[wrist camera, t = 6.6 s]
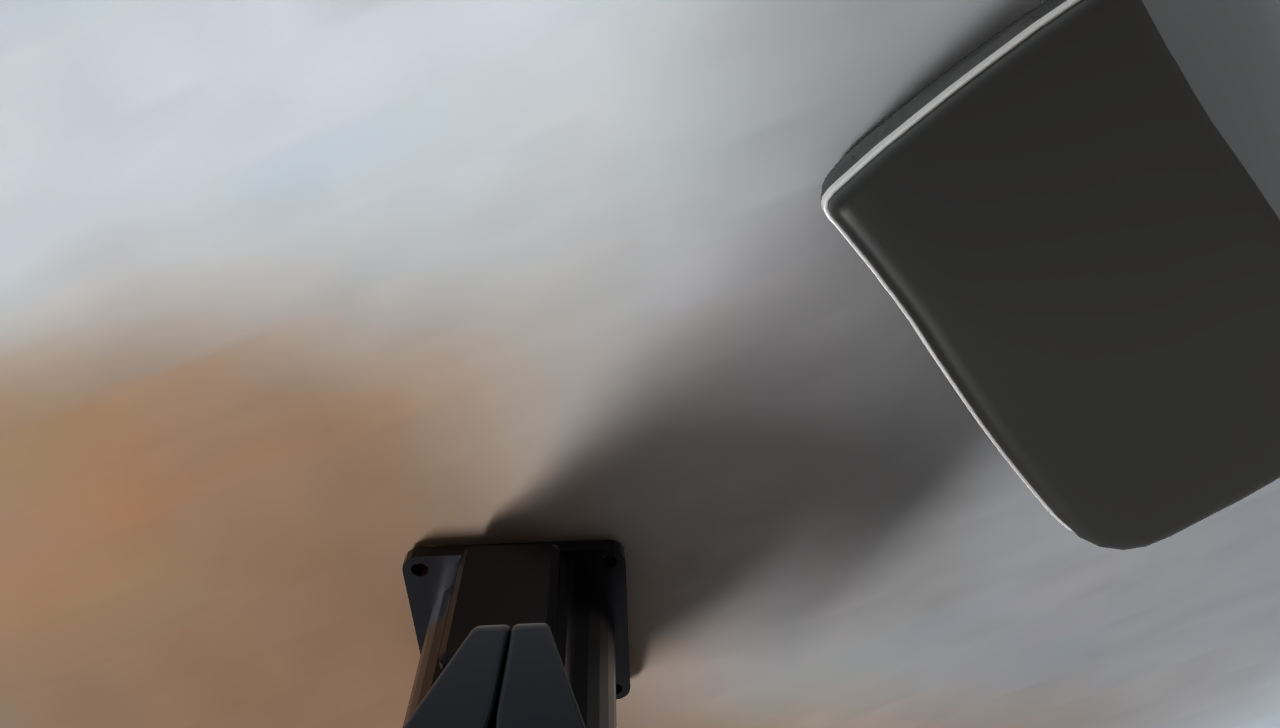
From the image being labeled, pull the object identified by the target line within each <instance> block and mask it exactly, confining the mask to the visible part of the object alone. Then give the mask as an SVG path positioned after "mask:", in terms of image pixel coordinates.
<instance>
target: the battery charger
mask: <svg viewBox="0 0 1280 728" xmlns="http://www.w3.org/2000/svg"><path fill="white" fill-rule="evenodd" d="M821 200H822V201H821V207H822V209H823V211H824V213H825V215H826V216H827V217H828V219H829V220H830V221H831V222H832V223H833V224H834V226H835V227H836V228H837V229H838V230H839V231H840V233H841V234H842V235H843V236H844V238H845V239H846V240H847V241H848V242H849V244H850V245H851V246H852V247H853V249H854V250H855V251H856V252H857V253H858V255H859V256H860V257H861V258H862V260H863V261H864V262H865V263H866V265H867V266H868V267H869V268H870V270H871V271H872V272H873V273H874V275H875V276H876V277H877V279H878V280H879V282H880V283H881V284H882V286H883V287H884V288H885V290H886V291H887V292H888V293H889V295H890V296H891V297H892V298H893V300H894V301H895V303H896V304H897V305H898V307H899V308H900V309H901V311H902V312H903V314H904V315H905V316H906V318H907V319H908V321H909V322H910V324H911V325H912V327H913V328H914V330H915V331H916V333H917V335H918V336H919V338H920V339H921V341H922V342H923V344H924V345H925V347H926V348H927V350H928V351H929V353H930V354H931V356H932V357H933V359H934V360H935V362H936V363H937V365H938V366H939V368H940V369H941V371H942V372H943V374H944V375H945V376H946V378H947V379H948V381H949V382H950V384H951V385H952V387H953V388H954V390H955V391H956V392H957V394H958V395H959V397H960V398H961V400H962V401H963V403H964V404H965V405H966V407H967V408H968V410H969V411H970V413H971V414H972V416H973V417H974V418H975V420H976V421H977V422H978V424H979V425H980V426H981V428H982V429H983V431H984V432H985V433H986V435H987V436H988V437H989V439H990V440H991V441H992V443H993V444H994V445H995V447H996V448H997V449H998V451H999V452H1000V453H1001V455H1002V456H1003V457H1004V458H1005V460H1006V461H1007V462H1008V463H1009V465H1010V466H1011V467H1012V468H1013V470H1014V471H1015V472H1016V473H1017V475H1018V476H1019V477H1020V478H1021V479H1022V481H1023V482H1024V483H1025V484H1026V486H1027V487H1028V488H1029V489H1030V490H1031V492H1032V493H1033V494H1034V495H1035V496H1036V498H1037V499H1038V500H1039V501H1040V502H1041V503H1042V505H1043V506H1044V507H1045V508H1046V509H1047V511H1048V512H1049V513H1050V514H1051V515H1052V516H1053V517H1054V518H1055V519H1057V520H1058V521H1059V522H1060V523H1061V524H1062V525H1063V526H1064V527H1066V528H1067V529H1068V530H1070V531H1072V532H1073V533H1075V534H1077V535H1078V536H1079V537H1080V538H1083V539H1085V540H1087V541H1089V542H1091V543H1093V544H1095V545H1097V546H1100V547H1106V548H1114V549H1121V550H1125V549H1132V548H1138V547H1145V546H1148V545H1150V544H1152V543H1155V542H1157V541H1160V540H1162V539H1165V538H1167V537H1170V536H1172V535H1173V534H1175V533H1177V532H1179V531H1181V530H1183V529H1185V528H1187V527H1189V526H1191V525H1193V524H1195V523H1197V522H1199V521H1201V520H1203V519H1204V518H1206V517H1208V516H1210V515H1212V514H1214V513H1216V512H1218V511H1220V510H1222V509H1224V508H1226V507H1228V506H1230V505H1232V504H1233V503H1235V502H1237V501H1239V500H1241V499H1243V498H1245V497H1247V496H1248V495H1250V494H1252V493H1254V492H1255V491H1257V490H1259V489H1261V488H1262V487H1264V486H1266V485H1268V484H1269V483H1271V482H1273V481H1275V480H1276V479H1278V478H1280V219H1279V218H1278V216H1277V215H1276V213H1275V212H1274V210H1273V209H1272V207H1271V206H1270V204H1269V203H1268V201H1267V200H1266V198H1265V197H1264V195H1263V194H1262V192H1261V191H1260V189H1259V188H1258V186H1257V185H1256V183H1255V182H1254V181H1253V179H1252V178H1251V176H1250V175H1249V173H1248V172H1247V170H1246V169H1245V167H1244V166H1243V164H1242V163H1241V162H1240V160H1239V159H1238V157H1237V156H1236V155H1235V153H1234V152H1233V150H1232V149H1231V148H1230V146H1229V145H1228V143H1227V142H1226V141H1225V139H1224V138H1223V137H1222V135H1221V134H1220V132H1219V131H1218V129H1217V128H1216V127H1215V125H1214V124H1213V122H1212V121H1211V119H1210V117H1209V116H1208V114H1207V113H1206V111H1205V109H1204V108H1203V106H1202V105H1201V103H1200V102H1199V100H1198V98H1197V97H1196V95H1195V94H1194V92H1193V90H1192V88H1191V86H1190V85H1189V83H1188V81H1187V79H1186V78H1185V76H1184V74H1183V72H1182V71H1181V69H1180V67H1179V66H1178V64H1177V62H1176V61H1175V59H1174V57H1173V56H1172V54H1171V53H1170V51H1169V49H1168V48H1167V46H1166V44H1165V42H1164V40H1163V38H1162V37H1161V35H1160V33H1159V31H1158V29H1157V27H1156V25H1155V24H1154V22H1153V20H1152V18H1151V16H1150V14H1149V13H1148V11H1147V9H1146V7H1145V5H1144V3H1143V1H1142V0H1050V1H1048V2H1046V3H1044V4H1042V5H1040V6H1038V7H1037V8H1035V9H1033V10H1032V11H1030V12H1028V13H1027V14H1025V15H1024V16H1022V17H1021V18H1019V19H1018V20H1016V21H1015V22H1013V23H1012V24H1010V25H1009V26H1007V27H1006V28H1004V29H1003V30H1002V31H1000V32H999V33H997V34H996V35H995V36H993V37H992V38H991V39H989V40H988V41H987V42H985V43H984V44H983V45H981V46H980V47H979V48H977V49H976V50H975V51H973V52H972V53H971V54H969V55H968V56H967V57H965V58H964V59H963V60H961V61H960V62H959V63H958V64H956V65H955V66H954V67H952V68H951V69H950V70H948V71H947V72H946V73H944V74H943V75H942V76H940V77H939V78H938V79H937V80H935V81H934V82H933V83H931V84H930V85H929V86H927V87H926V88H925V89H924V90H923V91H921V92H920V93H919V94H918V95H916V96H915V97H914V98H913V99H911V100H910V101H909V102H908V103H906V104H905V105H904V106H903V107H902V108H900V109H899V110H898V111H897V112H895V113H894V114H893V115H892V116H891V117H889V118H888V119H887V120H886V121H884V122H883V123H882V124H881V125H880V126H878V127H877V128H876V129H875V130H873V131H872V132H871V133H870V134H869V135H867V136H866V137H865V138H864V139H863V140H862V141H860V142H859V143H858V144H857V145H856V146H855V147H854V148H853V149H852V150H850V151H849V152H848V153H847V154H846V155H845V156H844V157H843V158H842V159H841V160H840V161H839V162H838V163H837V164H836V166H835V167H834V168H833V169H832V170H831V172H830V173H829V174H828V175H827V177H826V178H825V180H824V183H823V185H822V194H821Z"/></svg>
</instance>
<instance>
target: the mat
mask: <svg viewBox="0 0 1280 728" xmlns="http://www.w3.org/2000/svg"><path fill="white" fill-rule="evenodd" d="M1142 1H1143V3H1144V5H1145V7H1146V9H1147V11H1148V13H1149V14H1150V16H1151V18H1152V20H1153V22H1154V24H1155V25H1156V27H1157V29H1158V31H1159V33H1160V35H1161V37H1162V38H1163V40H1164V42H1165V44H1166V46H1167V48H1168V49H1169V51H1170V53H1171V54H1172V56H1173V57H1174V59H1175V61H1176V62H1177V64H1178V66H1179V67H1180V69H1181V71H1182V72H1183V74H1184V76H1185V78H1186V79H1187V81H1188V83H1189V85H1190V86H1191V88H1192V90H1193V92H1194V94H1195V95H1196V97H1197V98H1198V100H1199V102H1200V103H1201V105H1202V106H1203V108H1204V109H1205V111H1206V113H1207V114H1208V116H1209V117H1210V119H1211V121H1212V122H1213V124H1214V125H1215V127H1216V128H1217V129H1218V131H1219V132H1220V134H1221V135H1222V137H1223V138H1224V139H1225V141H1226V142H1227V143H1228V145H1229V146H1230V148H1231V149H1232V150H1233V152H1234V153H1235V155H1236V156H1237V157H1238V159H1239V160H1240V162H1241V163H1242V164H1243V166H1244V167H1245V169H1246V170H1247V172H1248V173H1249V175H1250V176H1251V178H1252V179H1253V181H1254V182H1255V183H1256V185H1257V186H1258V188H1259V189H1260V191H1261V192H1262V194H1263V195H1264V197H1265V198H1266V200H1267V201H1268V203H1269V204H1270V206H1271V207H1272V209H1273V210H1274V212H1275V213H1276V215H1277V216H1278V218H1279V219H1280V0H1142Z"/></svg>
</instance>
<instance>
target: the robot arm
mask: <svg viewBox="0 0 1280 728" xmlns="http://www.w3.org/2000/svg"><path fill="white" fill-rule="evenodd" d="M607 555H610V556H613V557H614V558H611V559H604V558H603V556H607ZM417 563H421V564H424V565H426V566H425V567H422V566H418V565H417ZM403 575H404V580H405V584H406V589H407V593H408V598H409V603H410V607H411V612H412V617H413V621H414V626H415V631H416V635H417V640H418V644H419V649H420V654H421V656H420V660H419V664H418V668H417V672H416V676H415V680H414V684H413V688H412V693H411V697H410V701H409V705H408V709H407V713H406V717H405V721H404V725H403V728H616V699H620V698H623V697H625V696H626V695H627V694H628V693H629V691H630V672H629V645H628V618H627V591H626V564H625V550H624V547H623V546H622V545H621V544H620V543H619V542H617V541H614V540H587V541H562V542H538V543H513V544H489V545H464V546H440V547H419V548H414V549H412V550H410V551H409V552H408V553H407V555H406V557H405V560H404V563H403Z"/></svg>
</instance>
